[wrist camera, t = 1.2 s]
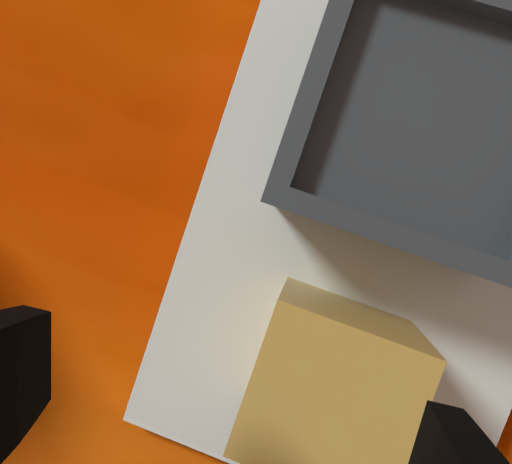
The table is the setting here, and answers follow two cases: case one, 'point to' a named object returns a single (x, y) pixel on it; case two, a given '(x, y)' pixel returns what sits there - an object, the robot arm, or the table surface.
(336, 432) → the ochre block
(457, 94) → the charcoal base block
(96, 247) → the table surface
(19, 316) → the robot arm
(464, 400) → the build board
